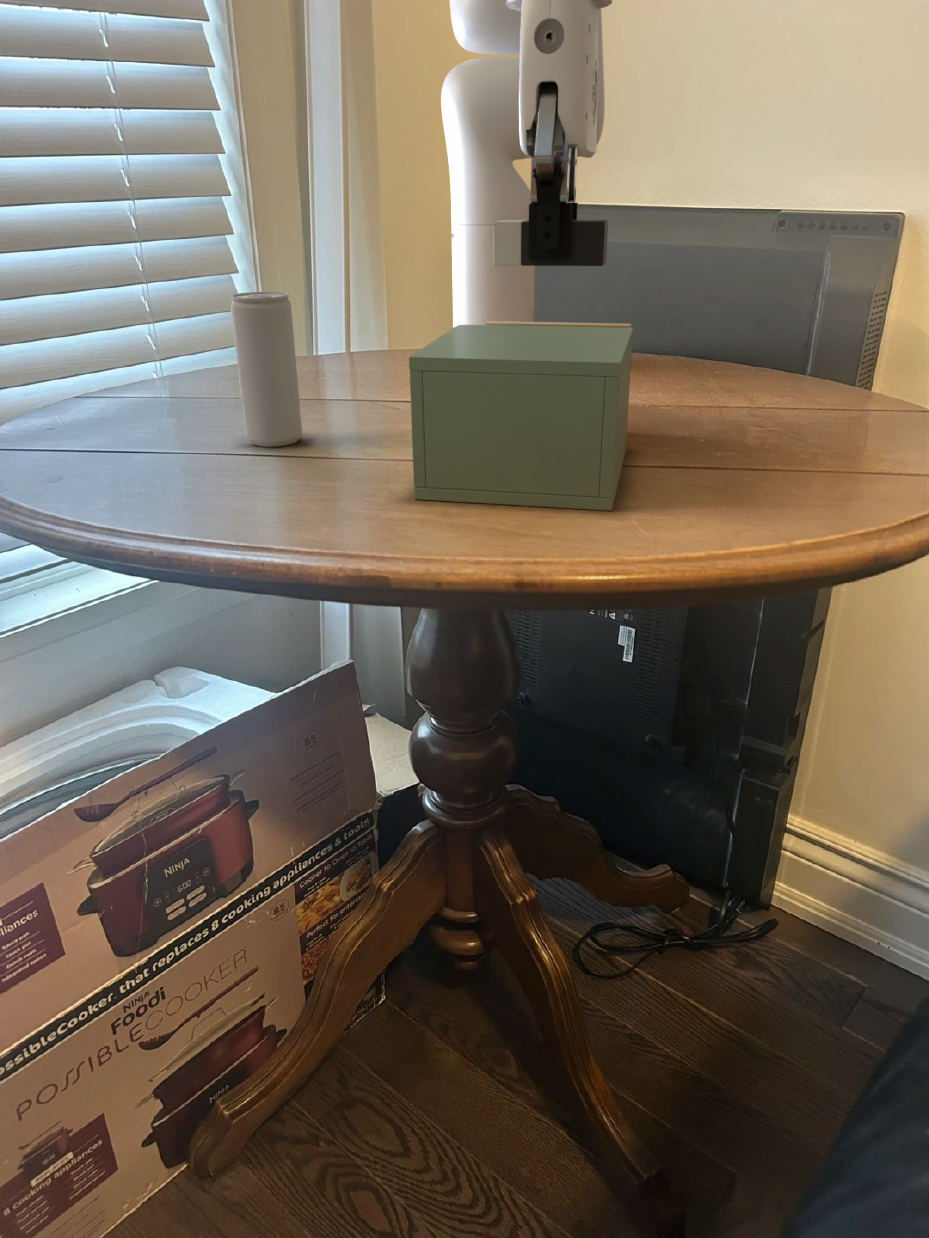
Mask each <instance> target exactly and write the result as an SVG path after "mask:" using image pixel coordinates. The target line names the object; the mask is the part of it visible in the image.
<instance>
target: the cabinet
mask: <svg viewBox="0 0 929 1238" xmlns="http://www.w3.org/2000/svg"><path fill="white" fill-rule="evenodd" d="M633 340H634V327H631V328H606V327H555V326H504V325H457V326H456V327H454V328H453V327H452V328H451V329H449V330H448V331H446V332H445V333H443V334H442V335H440V336H439V337H437V338H436V339H434V340H433V341H431V342H429V343H427V344H426V345H425V346H423V347H422V348H420V349H419V350H417V351H416V352H415V353H413V354H411V355H410V356H409V357H408V368H409V369H408V371H409V393H410V394H409V395H410V419H411V420H410V421H411V423H410V424H411V449H412V451H411V452H412V475H413V476H412V477H413V499H414V500H419V501H421V500H422V501H435V502H454V503H455V502H456V503H470V504H471V503H472V504H489V505H507V506H521V507H522V506H523V507H539V508H557V509H573V510H574V509H575V510H589V511H591V510H592V511H607V512H608V511H609V512H611V511H612V510H613V507H614V502H615V499H616V494H617V489H618V486H619V482H620V477H621V473H622V469H623V464H624V459H625V456H626V448H627V447H626V446H627V434H628V433H627V432H628V418H629V402H630V386H631V372H632V371H631V370H632V357H633V356H632V354H633Z"/></svg>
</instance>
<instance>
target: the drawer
mask: <svg viewBox="0 0 929 1238" xmlns="http://www.w3.org/2000/svg"><path fill="white" fill-rule="evenodd" d="M485 325H504V326H555V327H606V328H632V323H619V322H618V323H617V322H616V323H615V322H614V323H613V322H611V323H610V322H569V321H568V322H566V321H565V322H562V321H561V322H560V321H559V322H557V321H534V322H514V321H488V322H486V323H485Z"/></svg>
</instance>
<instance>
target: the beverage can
mask: <svg viewBox="0 0 929 1238" xmlns="http://www.w3.org/2000/svg"><path fill="white" fill-rule="evenodd" d="M231 300H232V301H231V303H230V311H231V320H232V329H233V336H234V346H235V356H236V365H237V374H238V381H239V389H240V398H241V399H240V400H241V406H242V414H243V424H244V431H245V432H244V433H245V438H246V439H247V440H248V441H249V442H250V443H251V444H252V445H255V446H257V447H264V448H276V447H284V446H290V445H293V444H295V443H297V442H298V441H299V440H300V438H301V437H302V435H303V428H302V416H301V403H300V392H299V382H298V381H299V380H298V368H297V358H296V357H297V356H296V348H295V335H294V323H293V313H292V311H293V310H292V303H291V301H290V300H289V293H288V292H284V291H283V292H282V291H250V292H241V293H235V294H232V295H231Z"/></svg>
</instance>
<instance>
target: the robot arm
mask: <svg viewBox="0 0 929 1238" xmlns="http://www.w3.org/2000/svg"><path fill="white" fill-rule="evenodd" d="M612 4H613V0H449V12H450V21H451V27H452V31H453V35H454V38H455V40H456V41H457V43H458V45H459V46H460V47H461V48H462V49H463V50H465V51H467V52H470V53H474V54H479V55H488V56H489V57H478V58H472V59H467V60H465V61H463V62H460V63H458V64H456V65H455V66H454V67H453V68H451V69H450V71H449V72H447V75H446V76H445V78H444V80H443V83H442V86H441V91H440V110H441V118H442V125H443V132H444V140H445V146H446V152H447V153H446V154H447V161H448V172H449V186H450V189H449V190H450V215H451V216H450V221H451V222H450V223H451V227H450V228H451V280H452V281H451V282H452V284H451V286H452V329H453V328H454V327H456V326H457V325H485V323H486V322H488V321H514V322H535V318H534V317H535V280H536V279H535V275H536V274H535V273H536V266H522V265H521V266H494V222H495V221H500V220H529V233H528V257H529V259H530V260H533V261H565V260H567V259H569V257H570V246H571V220H578V204H579V203H578V202H576V200H577V175H578V173H577V172H578V170H577V169H578V158H579V157H581V158H585V159H587V158H588V159H591V158H592V157H593V156H594V155H595V154H596V153H597V146H598V144H599V143H600V140H601V138H602V134H603V130H604V123H605V109H606V108H605V107H606V106H605V103H606V102H605V73H604V69H605V68H604V51H603V50H604V45H603V43H604V42H603V20H602V19H603V16H602V15H603V14H602V9H604V8H607V7H609V6H611V5H612ZM490 55H491V57H490ZM492 55H493V57H492ZM495 56H496V57H495ZM506 56H507V57H506ZM511 56H512V57H511ZM515 56H516V57H515ZM518 56H519V57H518ZM525 159H530V161H531V162H530V164H531V165H530V166H531V167H530V187H529V185H528V184H527V183H526V181H525V180H524V179H523V178H522V176H521V175H520V174H519V172H518V170H517V169H516V168H515V166H514V164H513V162H514V161H519V160H525Z"/></svg>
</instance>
